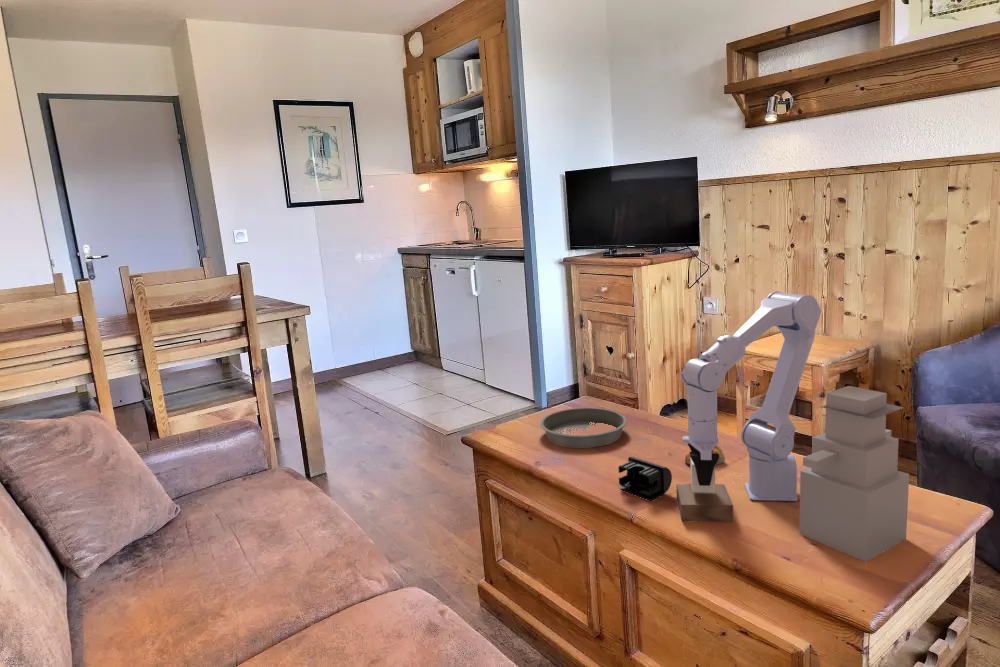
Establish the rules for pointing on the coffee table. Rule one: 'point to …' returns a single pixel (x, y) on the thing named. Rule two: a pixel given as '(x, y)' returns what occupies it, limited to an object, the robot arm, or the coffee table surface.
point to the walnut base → (704, 504)
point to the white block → (695, 483)
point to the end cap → (644, 479)
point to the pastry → (716, 451)
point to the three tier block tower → (854, 478)
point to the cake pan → (582, 426)
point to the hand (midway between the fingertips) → (703, 479)
